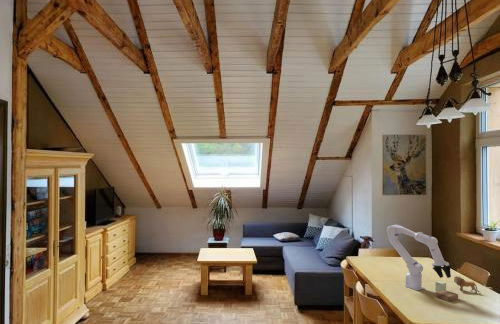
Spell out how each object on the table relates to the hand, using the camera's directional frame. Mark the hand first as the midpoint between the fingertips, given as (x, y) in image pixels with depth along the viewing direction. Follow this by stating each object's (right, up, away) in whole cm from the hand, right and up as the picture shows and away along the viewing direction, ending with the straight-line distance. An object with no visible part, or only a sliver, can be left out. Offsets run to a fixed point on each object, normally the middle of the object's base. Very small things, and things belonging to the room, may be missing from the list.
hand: (445, 277), depth 234 cm
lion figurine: (+17, -12, +8) cm, 22 cm away
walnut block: (-2, -12, -5) cm, 13 cm away
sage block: (0, -11, +7) cm, 13 cm away
